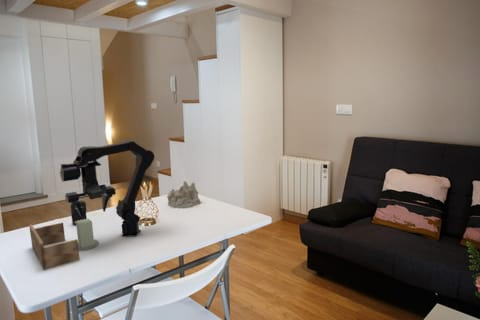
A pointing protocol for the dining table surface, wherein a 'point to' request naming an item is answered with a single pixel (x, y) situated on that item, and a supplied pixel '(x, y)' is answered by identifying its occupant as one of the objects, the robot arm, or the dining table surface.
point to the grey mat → (89, 246)
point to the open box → (53, 246)
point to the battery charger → (75, 213)
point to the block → (85, 233)
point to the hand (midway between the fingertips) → (92, 213)
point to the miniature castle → (184, 197)
